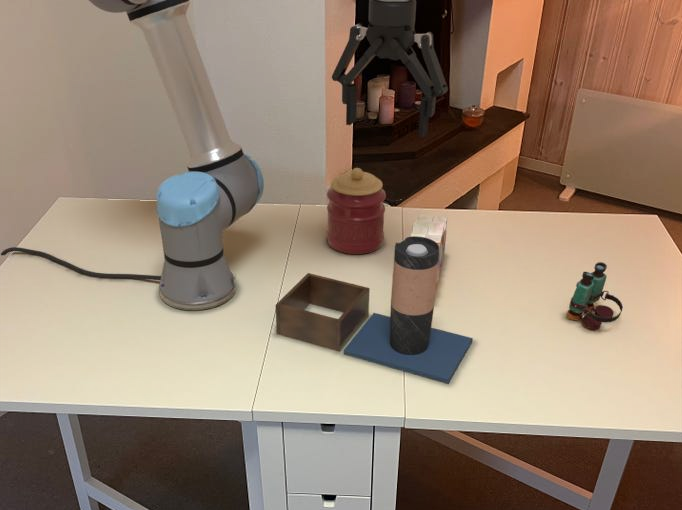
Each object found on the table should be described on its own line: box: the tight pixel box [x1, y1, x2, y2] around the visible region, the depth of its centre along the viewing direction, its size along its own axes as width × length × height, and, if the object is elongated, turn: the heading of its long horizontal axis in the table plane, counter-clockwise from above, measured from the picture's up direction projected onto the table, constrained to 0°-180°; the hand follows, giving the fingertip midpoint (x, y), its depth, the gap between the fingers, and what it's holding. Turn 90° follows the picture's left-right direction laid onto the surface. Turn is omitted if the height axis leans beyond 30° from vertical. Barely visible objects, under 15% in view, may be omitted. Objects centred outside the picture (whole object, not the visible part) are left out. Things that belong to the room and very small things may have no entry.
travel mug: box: [389, 236, 439, 355], centre depth 132 cm, size 8×8×20 cm
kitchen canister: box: [326, 167, 387, 255], centre depth 167 cm, size 13×13×18 cm
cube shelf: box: [275, 272, 371, 352], centre depth 143 cm, size 13×13×6 cm
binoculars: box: [565, 261, 624, 331], centre depth 144 cm, size 9×11×10 cm
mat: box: [343, 312, 474, 385], centre depth 139 cm, size 20×14×1 cm
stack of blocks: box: [409, 214, 448, 295], centre depth 157 cm, size 21×6×12 cm, turn 167°
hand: (386, 128), depth 133 cm, fingers open, 13 cm apart
